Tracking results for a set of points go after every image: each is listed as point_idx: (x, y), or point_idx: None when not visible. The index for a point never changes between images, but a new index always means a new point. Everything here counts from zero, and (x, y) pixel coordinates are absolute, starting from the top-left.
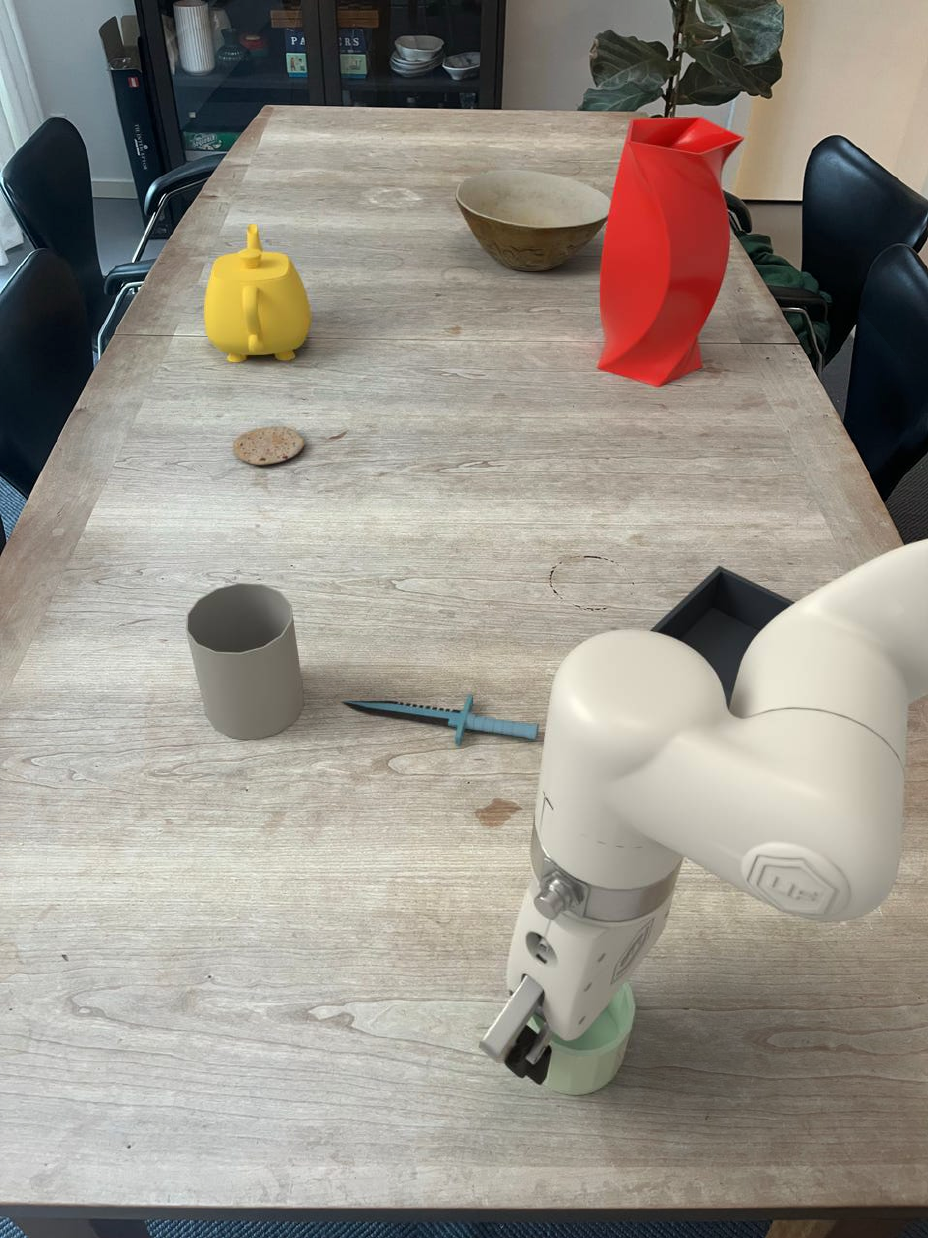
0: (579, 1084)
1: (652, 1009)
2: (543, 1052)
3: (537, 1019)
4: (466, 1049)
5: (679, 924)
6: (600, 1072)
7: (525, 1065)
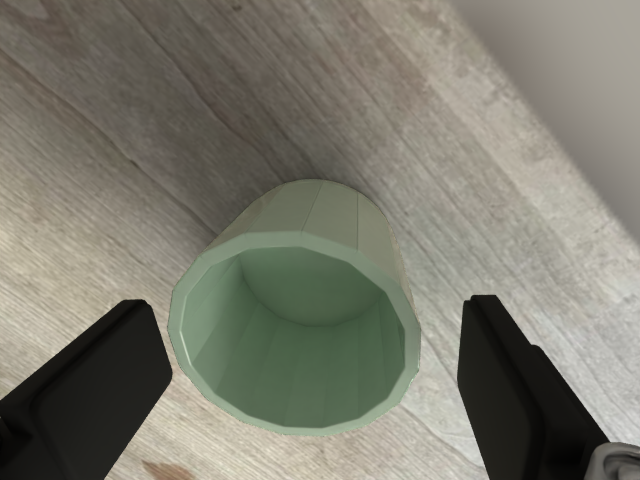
0: (376, 217)
1: (180, 201)
2: (597, 457)
3: (330, 314)
4: (428, 348)
5: (58, 250)
6: (344, 207)
7: (584, 409)
